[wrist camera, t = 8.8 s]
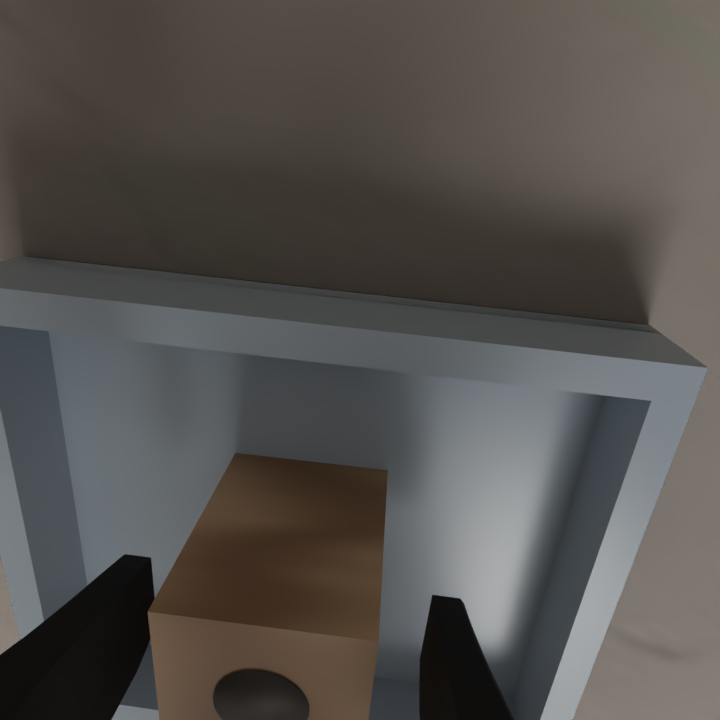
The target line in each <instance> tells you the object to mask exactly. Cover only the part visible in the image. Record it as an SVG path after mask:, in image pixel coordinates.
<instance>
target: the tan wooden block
mask: <svg viewBox="0 0 720 720" xmlns="http://www.w3.org/2000/svg"><path fill="white" fill-rule="evenodd" d="M387 476H388V470H382V469H373V468H364V467H355V466H347V465H338V464H329V463H320V462H311V461H303V460H294V459H285V458H276V457H268V456H259V455H250V454H241V453H235V454H234V456H233V458H232V460H231V462H230V464H229V465H228V467H227V469H226V471H225V473H224V474H223V476H222V478H221V480H220V482H219V483H218V485H217V487H216V489H215V491H214V492H213V494H212V496H211V498H210V500H209V502H208V503H207V505H206V507H205V509H204V511H203V512H202V514H201V516H200V518H199V520H198V521H197V523H196V525H195V527H194V529H193V530H192V532H191V534H190V536H189V538H188V540H187V541H186V543H185V545H184V547H183V549H182V550H181V552H180V554H179V556H178V558H177V559H176V561H175V563H174V565H173V567H172V568H171V570H170V572H169V574H168V576H167V577H166V579H165V581H164V583H163V585H162V587H161V588H160V590H159V592H158V594H157V596H156V597H155V599H154V601H153V603H152V605H151V606H150V608H149V610H148V620H149V629H150V638H151V647H152V657H153V666H154V675H155V684H156V693H157V702H158V711H159V720H368V719H369V711H370V703H371V696H372V688H373V681H374V673H375V666H376V658H377V651H378V643H379V627H380V608H381V589H382V570H383V551H384V533H385V514H386V495H387Z"/></svg>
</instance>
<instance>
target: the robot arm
mask: <svg viewBox="0 0 720 720" xmlns="http://www.w3.org/2000/svg"><path fill="white" fill-rule="evenodd" d="M154 599H155V596H154V585H153V573H152V562H151V557H143V556H136V555H128V554H124V555H123V556H122V557H120V558H119V559H118V560H117V561H116V562H114V563H113V564H112V565H111V566H110V567H108V568H107V569H106V570H105V571H104V572H103V573H101V574H100V575H99V576H98V577H97V578H95V579H94V580H93V581H92V582H91V583H90V584H88V585H87V586H86V587H85V588H84V589H82V590H81V591H80V592H79V593H78V594H77V595H75V596H74V597H73V598H72V599H71V600H69V601H68V602H67V603H66V604H65V605H63V606H62V607H61V608H60V609H58V610H57V611H56V612H55V613H53V614H52V615H51V616H50V617H49V618H47V619H46V620H45V621H44V622H42V623H41V624H40V625H39V626H37V627H36V628H35V629H34V630H32V631H31V632H30V633H29V634H27V635H26V636H25V637H24V638H22V639H21V640H20V641H18V642H17V643H16V644H14V645H13V646H12V647H10V648H9V649H8V650H6V651H5V652H4V653H2V654H1V655H0V720H112V718H113V716H114V714H115V712H116V710H117V708H118V707H119V705H120V703H121V701H122V699H123V697H124V695H125V693H126V692H127V690H128V688H129V686H130V684H131V682H132V680H133V678H134V676H135V675H136V673H137V671H138V668H139V666H140V663H141V661H142V659H143V656H144V654H145V652H146V649H147V647H148V644H149V642H150V639H151V638H150V629H149V620H148V610H149V608H150V606H151V605H152V603H153V601H154ZM419 715H420V720H515V719H514V717H513V715H512V713H511V711H510V710H509V708H508V706H507V704H506V701H505V699H504V697H503V695H502V693H501V691H500V689H499V687H498V685H497V683H496V681H495V679H494V676H493V674H492V672H491V670H490V668H489V666H488V663H487V661H486V659H485V656H484V654H483V652H482V649H481V647H480V645H479V642H478V640H477V637H476V635H475V632H474V630H473V627H472V625H471V622H470V619H469V616H468V614H467V611H466V608H465V605H464V603H463V601H462V600H461V599H460V598H453V597H446V596H438V595H432V599H431V604H430V609H429V614H428V619H427V624H426V629H425V634H424V640H423V645H422V650H421V655H420V673H419Z"/></svg>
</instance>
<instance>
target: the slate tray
mask: <svg viewBox="0 0 720 720" xmlns="http://www.w3.org/2000/svg"><path fill="white" fill-rule="evenodd" d="M707 370H708V367H706V366H705V365H703V364H702V363H701V362H699V361H698V360H697V359H695V358H694V357H693V356H691V355H690V354H688V353H687V352H686V351H684V350H683V349H682V348H680V347H679V346H678V345H676V344H675V343H673V342H672V341H671V340H669V339H668V338H667V337H665V336H664V335H663V334H661V333H660V332H658V331H657V330H656V329H654V328H653V327H652V326H650V325H644V324H635V323H626V322H617V321H608V320H599V319H589V318H580V317H571V316H562V315H553V314H544V313H535V312H526V311H517V310H508V309H498V308H489V307H480V306H471V305H462V304H453V303H444V302H435V301H426V300H416V299H407V298H398V297H389V296H380V295H371V294H362V293H353V292H344V291H335V290H325V289H316V288H307V287H298V286H289V285H280V284H271V283H262V282H253V281H244V280H234V279H225V278H216V277H207V276H198V275H189V274H180V273H171V272H162V271H152V270H143V269H134V268H125V267H116V266H107V265H98V264H89V263H80V262H71V261H61V260H52V259H43V258H34V257H25V256H21V257H18V258H14V259H11V260H8V261H4V262H1V263H0V555H1V560H2V564H3V568H4V572H5V577H6V581H7V585H8V590H9V594H10V598H11V602H12V607H13V611H14V615H15V619H16V624H17V628H18V632H19V637H20V640H21V639H22V638H24V637H25V636H26V635H27V634H29V633H30V632H31V631H32V630H34V629H35V628H36V627H37V626H39V625H40V624H41V623H42V622H44V621H45V620H46V619H47V618H49V617H50V616H51V615H52V614H53V613H55V612H56V611H57V610H58V609H60V608H61V607H62V606H63V605H65V604H66V603H67V602H68V601H69V600H71V599H72V598H73V597H74V596H75V595H77V594H78V593H79V592H80V591H81V590H82V589H84V588H85V587H86V586H87V585H88V584H90V583H91V582H92V581H93V580H94V579H95V578H97V577H98V576H99V575H100V574H101V573H103V572H104V571H105V570H106V569H107V568H108V567H110V566H111V565H112V564H113V563H114V562H116V561H117V560H118V559H119V558H120V557H122V556H123V555H124V554H128V555H136V556H143V557H151V562H152V573H153V585H154V596H155V597H156V596H157V594H158V592H159V590H160V588H161V587H162V585H163V583H164V581H165V579H166V577H167V576H168V574H169V572H170V570H171V568H172V567H173V565H174V563H175V561H176V559H177V558H178V556H179V554H180V552H181V550H182V549H183V547H184V545H185V543H186V541H187V540H188V538H189V536H190V534H191V532H192V530H193V529H194V527H195V525H196V523H197V521H198V520H199V518H200V516H201V514H202V512H203V511H204V509H205V507H206V505H207V503H208V502H209V500H210V498H211V496H212V494H213V492H214V491H215V489H216V487H217V485H218V483H219V482H220V480H221V478H222V476H223V474H224V473H225V471H226V469H227V467H228V465H229V464H230V462H231V460H232V458H233V456H234V454H235V453H241V454H250V455H259V456H268V457H276V458H285V459H294V460H303V461H311V462H320V463H329V464H338V465H347V466H355V467H364V468H373V469H382V470H388V476H387V495H386V514H385V533H384V551H383V570H382V589H381V608H380V627H379V643H378V651H377V658H376V666H375V673H374V681H373V688H372V696H371V703H370V711H369V719H368V720H420V715H419V673H420V655H421V650H422V645H423V640H424V634H425V629H426V624H427V619H428V614H429V609H430V604H431V599H432V595H438V596H446V597H453V598H460V599H461V600H462V601H463V603H464V605H465V608H466V611H467V614H468V616H469V619H470V622H471V625H472V627H473V630H474V632H475V635H476V637H477V640H478V642H479V645H480V647H481V649H482V652H483V654H484V656H485V659H486V661H487V663H488V666H489V668H490V670H491V672H492V674H493V676H494V679H495V681H496V683H497V685H498V687H499V689H500V691H501V693H502V695H503V697H504V699H505V701H506V704H507V706H508V708H509V710H510V711H511V713H512V715H513V717H514V719H515V720H572V719H573V717H574V714H575V711H576V709H577V706H578V704H579V701H580V698H581V696H582V693H583V691H584V688H585V686H586V683H587V680H588V678H589V675H590V673H591V670H592V667H593V665H594V662H595V660H596V657H597V654H598V652H599V649H600V647H601V644H602V642H603V639H604V636H605V634H606V631H607V629H608V626H609V623H610V621H611V618H612V616H613V613H614V610H615V608H616V605H617V603H618V600H619V598H620V595H621V592H622V590H623V587H624V585H625V582H626V579H627V577H628V574H629V572H630V569H631V566H632V564H633V561H634V559H635V556H636V554H637V551H638V548H639V546H640V543H641V541H642V538H643V535H644V533H645V530H646V528H647V525H648V522H649V520H650V517H651V515H652V512H653V510H654V507H655V504H656V502H657V499H658V497H659V494H660V491H661V489H662V486H663V484H664V481H665V478H666V476H667V473H668V471H669V468H670V465H671V463H672V460H673V458H674V455H675V453H676V450H677V447H678V445H679V442H680V440H681V437H682V434H683V432H684V429H685V427H686V424H687V421H688V419H689V416H690V414H691V411H692V409H693V406H694V403H695V401H696V398H697V396H698V393H699V390H700V388H701V385H702V383H703V380H704V377H705V375H706V372H707ZM112 720H159V711H158V702H157V693H156V684H155V675H154V666H153V657H152V647H151V639H150V642H149V644H148V647H147V649H146V652H145V654H144V656H143V659H142V661H141V663H140V666H139V668H138V671H137V673H136V675H135V676H134V678H133V680H132V682H131V684H130V686H129V688H128V690H127V692H126V693H125V695H124V697H123V699H122V701H121V703H120V705H119V707H118V708H117V710H116V712H115V714H114V716H113V718H112Z"/></svg>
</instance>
